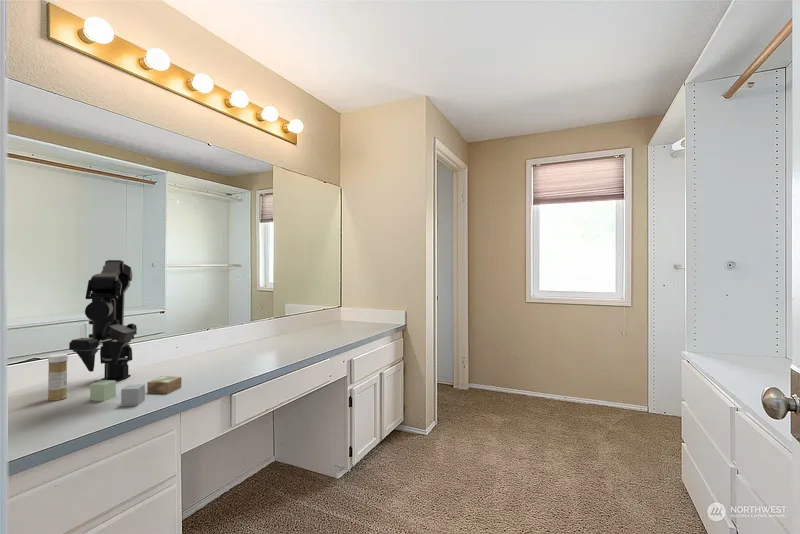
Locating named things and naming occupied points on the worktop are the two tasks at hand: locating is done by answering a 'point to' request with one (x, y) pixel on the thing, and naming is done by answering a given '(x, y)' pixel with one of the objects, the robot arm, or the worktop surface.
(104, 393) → the sage block
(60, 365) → the sprinkles bottle
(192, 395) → the worktop surface
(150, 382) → the base block
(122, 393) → the slate block
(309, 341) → the worktop surface
